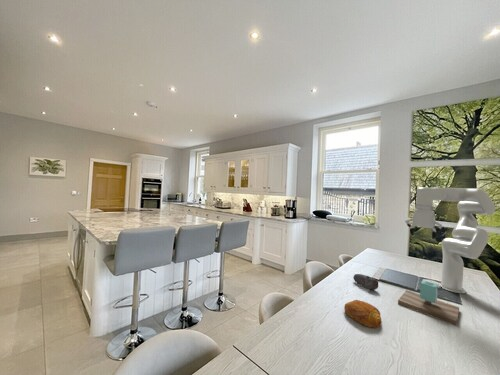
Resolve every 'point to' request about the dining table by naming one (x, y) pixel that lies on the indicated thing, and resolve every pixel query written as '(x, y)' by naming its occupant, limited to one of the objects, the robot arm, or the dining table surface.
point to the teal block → (428, 291)
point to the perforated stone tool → (366, 281)
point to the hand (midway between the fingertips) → (422, 236)
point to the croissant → (363, 313)
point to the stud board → (430, 307)
